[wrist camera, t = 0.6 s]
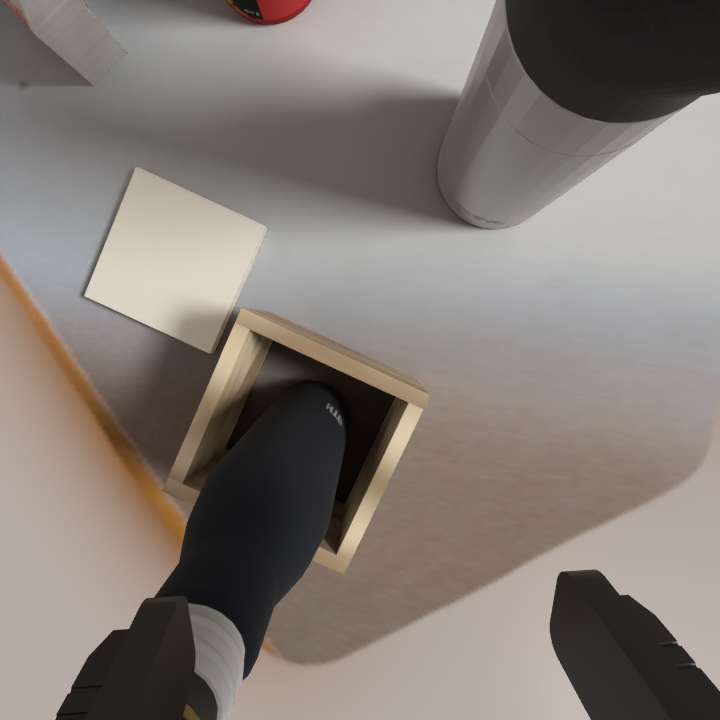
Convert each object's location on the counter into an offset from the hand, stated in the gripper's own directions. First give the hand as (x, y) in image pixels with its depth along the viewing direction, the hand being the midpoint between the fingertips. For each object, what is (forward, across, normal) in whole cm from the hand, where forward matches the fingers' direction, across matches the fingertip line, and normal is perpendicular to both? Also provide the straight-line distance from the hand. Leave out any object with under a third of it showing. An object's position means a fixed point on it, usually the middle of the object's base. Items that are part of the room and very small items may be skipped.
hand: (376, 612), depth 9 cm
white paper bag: (+34, +20, -22) cm, 45 cm away
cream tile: (+29, +13, -5) cm, 32 cm away
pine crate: (+25, +2, +7) cm, 26 cm away
